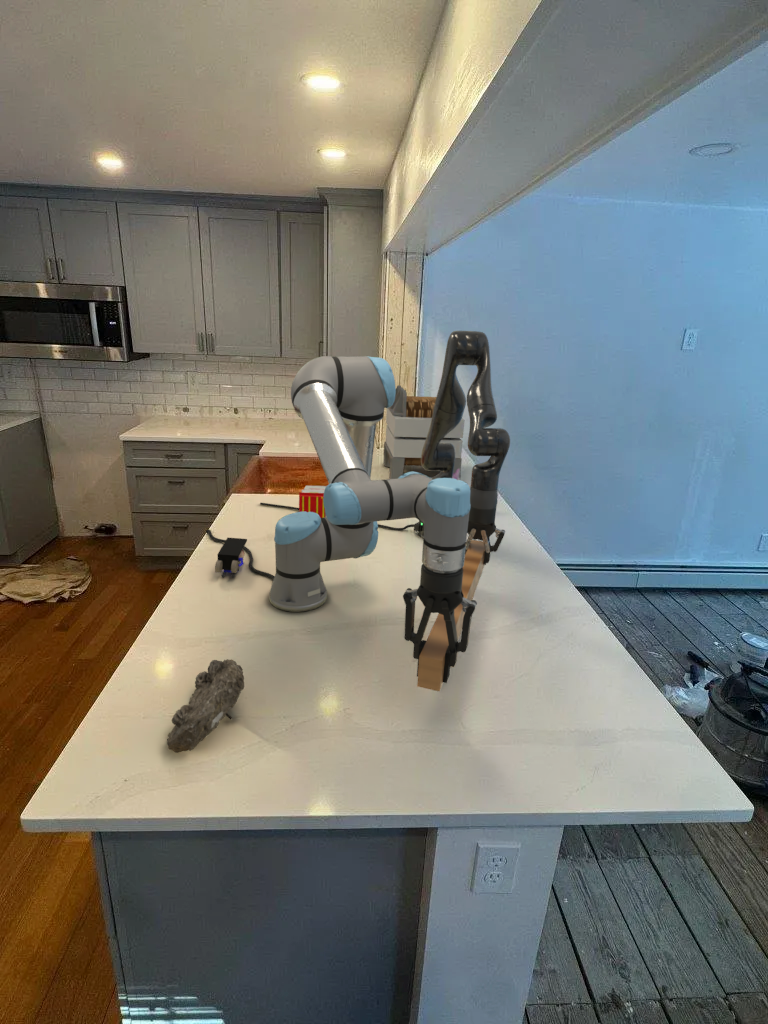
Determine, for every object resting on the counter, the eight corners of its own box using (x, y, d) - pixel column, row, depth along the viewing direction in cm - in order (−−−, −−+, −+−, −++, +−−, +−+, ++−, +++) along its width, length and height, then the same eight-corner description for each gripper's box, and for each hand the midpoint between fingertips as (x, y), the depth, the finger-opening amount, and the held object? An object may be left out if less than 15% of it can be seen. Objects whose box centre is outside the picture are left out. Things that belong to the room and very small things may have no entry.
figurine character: (238, 584, 162) (249, 557, 175) (236, 562, 158) (247, 536, 172) (215, 584, 161) (227, 556, 175) (212, 561, 158) (225, 535, 171)
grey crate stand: (382, 463, 289) (386, 382, 275) (445, 464, 293) (451, 384, 279) (390, 482, 257) (394, 392, 243) (460, 483, 261) (468, 394, 247)
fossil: (192, 660, 117) (244, 628, 112) (224, 691, 120) (276, 661, 115) (142, 746, 98) (202, 712, 93) (182, 779, 101) (242, 748, 96)
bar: (469, 561, 160) (471, 539, 158) (485, 564, 159) (487, 542, 157) (417, 686, 106) (419, 656, 104) (439, 691, 105) (442, 661, 103)
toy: (334, 481, 223) (329, 494, 194) (333, 514, 226) (328, 532, 197) (303, 480, 223) (293, 493, 193) (303, 513, 225) (293, 531, 196)
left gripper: (389, 565, 100) (384, 676, 108) (488, 582, 95) (475, 698, 103) (401, 549, 107) (395, 655, 115) (494, 565, 102) (481, 674, 110)
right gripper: (452, 503, 148) (447, 563, 154) (508, 511, 144) (500, 572, 150) (458, 495, 155) (452, 552, 160) (511, 502, 151) (503, 561, 157)
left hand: (433, 675), depth 109 cm, fingers closed on bar, 4 cm apart
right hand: (476, 561), depth 155 cm, fingers closed on bar, 4 cm apart
